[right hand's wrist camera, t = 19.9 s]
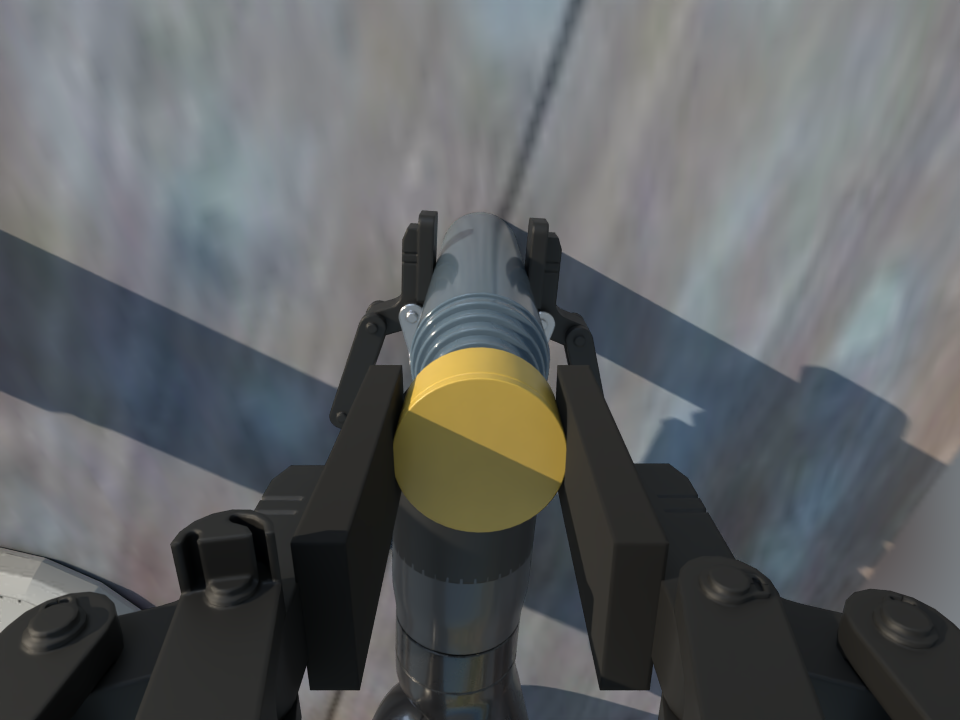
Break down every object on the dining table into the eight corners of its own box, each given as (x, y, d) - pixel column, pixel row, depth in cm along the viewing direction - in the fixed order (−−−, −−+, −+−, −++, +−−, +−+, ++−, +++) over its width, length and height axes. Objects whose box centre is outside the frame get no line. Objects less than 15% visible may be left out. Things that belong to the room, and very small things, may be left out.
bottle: (426, 245, 34) (344, 435, 13) (484, 195, 33) (492, 317, 12) (475, 302, 35) (468, 555, 15) (532, 255, 34) (612, 456, 14)
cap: (540, 330, 14) (550, 360, 12) (570, 469, 15) (582, 514, 13) (382, 366, 14) (368, 400, 12) (425, 499, 16) (418, 547, 14)
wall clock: (272, 805, 48) (-45, 888, 52) (278, 784, 50) (-30, 866, 53) (46, 500, 38) (-328, 632, 42) (63, 486, 39) (-300, 614, 43)
